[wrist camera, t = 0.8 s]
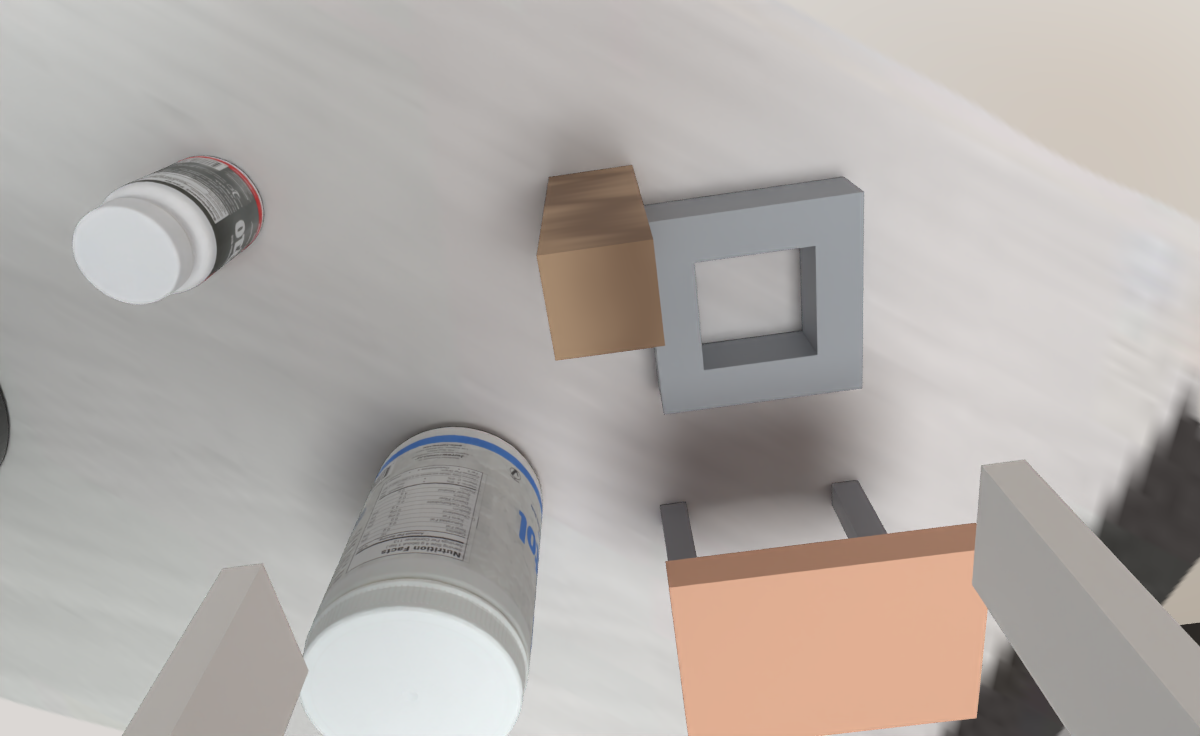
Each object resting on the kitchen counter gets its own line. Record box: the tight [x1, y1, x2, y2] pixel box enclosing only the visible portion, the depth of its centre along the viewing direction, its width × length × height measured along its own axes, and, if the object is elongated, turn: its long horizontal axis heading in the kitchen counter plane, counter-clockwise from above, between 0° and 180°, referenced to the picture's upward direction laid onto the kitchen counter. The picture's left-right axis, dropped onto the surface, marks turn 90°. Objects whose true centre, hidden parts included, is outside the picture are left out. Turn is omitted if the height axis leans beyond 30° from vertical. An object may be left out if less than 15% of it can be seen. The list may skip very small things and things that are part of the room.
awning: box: [660, 480, 988, 736], centre depth 38 cm, size 12×9×15 cm
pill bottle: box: [72, 156, 264, 304], centre depth 34 cm, size 5×5×8 cm
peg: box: [537, 165, 665, 360], centre depth 33 cm, size 4×4×12 cm
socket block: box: [644, 177, 864, 415], centre depth 39 cm, size 10×10×3 cm
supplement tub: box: [299, 427, 543, 736], centre depth 39 cm, size 10×10×15 cm
